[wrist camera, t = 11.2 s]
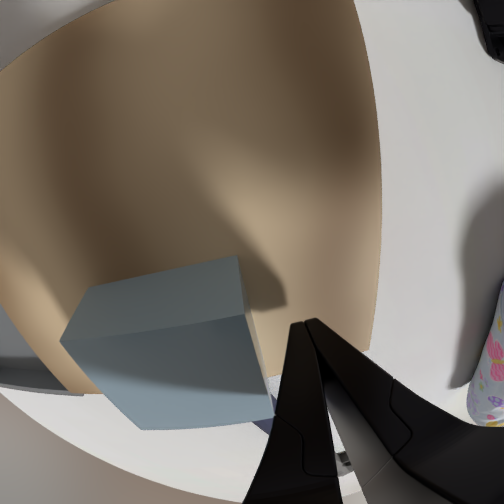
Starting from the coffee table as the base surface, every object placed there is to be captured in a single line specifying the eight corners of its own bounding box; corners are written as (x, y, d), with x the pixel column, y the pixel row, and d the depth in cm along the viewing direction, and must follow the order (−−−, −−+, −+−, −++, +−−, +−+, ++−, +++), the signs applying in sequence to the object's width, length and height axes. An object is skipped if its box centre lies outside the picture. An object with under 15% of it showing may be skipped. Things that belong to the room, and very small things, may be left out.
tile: (237, 254, 8) (244, 313, 6) (264, 363, 10) (274, 417, 8) (88, 287, 8) (59, 341, 6) (148, 380, 10) (141, 430, 8)
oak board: (315, -3, 6) (343, -30, 4) (349, 314, 13) (368, 349, 11) (-24, 125, 6) (-60, 136, 4) (82, 360, 13) (70, 392, 11)
